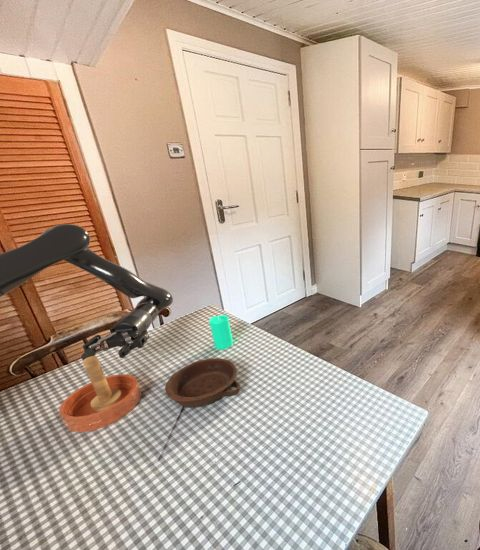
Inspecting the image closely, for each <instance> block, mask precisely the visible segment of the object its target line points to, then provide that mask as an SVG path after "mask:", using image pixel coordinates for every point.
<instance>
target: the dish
mask: <svg viewBox="0 0 480 550" xmlns="http://www.w3.org/2000/svg"><path fill="white" fill-rule="evenodd" d="M237 375H238V369H237V366H236V364H235V363H234V362H233V361H231V360H229V359H226V358H220V357H212V358H205V359H201V360H197V361H194V362H191V363H189V364H187V365H185V366H183V367H182V368H180V369H179V370H177V371H176V372H174V373H173V374H172V375H171V376H170V377H169V379H168V380H167V381H166V384H165V389H164V392H165V394H166V396H167V398H169V399H171V400H173V401H174V402H175V403H176V404H178V405H179V406H182V407H184V408H191V409H193V408H194V409H195V408H200V407H205V406H208V405H211V404H212V403H215V402H216V401H218V400H220V399H222V398H223V397H234V396H236V395H238V394H239V393H240V391H241V384H240V382H239V381H238V380H236V378H237ZM232 388H234V389H232Z"/></svg>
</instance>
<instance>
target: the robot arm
mask: <svg viewBox="0 0 480 550" xmlns="http://www.w3.org/2000/svg"><path fill="white" fill-rule="evenodd" d="M90 243H91V237H90V234H89V232H88V231H87V230H86V229H85V228H84V227H82V226H80V225H76V224H72V223H60V224H56V225H54V226H51V227H49V228H47V229H46V230H44V231H42V232H41V233H40V235H39V236H38V237H36V238H34V239H33V240H30V241H28V242H27V243H24V244H23V245H21V246H19V247H15V248H13V249H10V250H7V251H5V252H2V253H0V298H1V297H3V296H5V295H6V294H8V293H10V292H12V291H13V290H15V289H17V288H18V287H20V286H22V285H23V284H24V283H26V282H28V281H29V280H31V279H32V278H33V277H35V276H37V275H38V274H39V273H41V272H42V271H44V270H45V269H48V268H50V267H51V266H54V265H55V264H58V263H61V262H63V261H64V262H66V263H69V264H71V265H74V266H75V267H77V268H79V269H81V270H83V271H85V272H87V273H89V274H90V275H92V276H94V277H95V278H98V279H99V280H101V281H102V282H104V283H105V284H107V285H109V286H110V287H112V288H113V289H115V290H116V291H117V292H120V293H121V294H123V295H124V296H125V297H128V298H129V299H137V298H141V297H143V298H142V299H141V300H139V301H138V302H137V304H136V305H135V307H134V308H133V309H132V310H131V311H130V312H128V313H126V314H125V315H124V316H123V317H122V318H121V319H120V320H119V321H118V322H116V323H115V324H114V326H113V327H112V328H111V331H110V333H109V334H107V335H105V336H101V335H100V334H96V335H94V336H93V337H92V338H90V339H89V340H88V341H87V342H85V343H84V344H83V345H82V348H83V351H84V352H83V353H82V354H81V355H80V356H81V359H82V361H83V360H84V359H86V358H88V357H91V356H97V354H98V353H100V352H106V351H109V350H111V349H112V348H117V347H118V348H120V349H119V350H118V356H119V359H125V357H126V356H128V355H130V353H131V352H132V351H134V350H135V349H136V348H137V349H142V348H144V346H145V345H146V344H147V342H148V340H149V339H150V335H149V332H148V329H150V327H151V325H152V323H154V321H155V320H156V319H157V318H158V315H159V313H160V312H162V311H164V310H165V309H167V308H168V307H170V306H171V305H172V304H173V301H174V298H173V295H172V294H171V292H169V291H168V290H167V289H166V288H163V287H160V286H158V285H155V284H154V283H150V282H148V281H145V280H144V279H142V278H141V277H140V276H138V275H136V274H135V273H133V272H132V271H131V270H128V269H127V268H125V267H123V266H121V265H119V264H117V263H115V262H112V261H111V260H108V259H106V258H104V257H102V256H101V255H99V254H97V253H96V252H94V251H93V250H92V249H90V248H89V245H90ZM105 343H106V346H105ZM98 347H99V348H98Z"/></svg>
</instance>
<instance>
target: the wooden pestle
mask: <svg viewBox="0 0 480 550" xmlns="http://www.w3.org/2000/svg"><path fill="white" fill-rule="evenodd" d="M82 364H83V367H84V369H85V371H86V374H87V376H88V378H89V381H90V383H92V385H93V387H94V390H95V392H96V394H97V396H96V397H95V398H93V400H92V401H91V407H92V409H93V411H94V412H96V413H97V412H100V411H103V410H105V409H107V408H109V407H111V406H113V405H114V404H116V403H118V402H119V401H121V400H122V399H123V396H122V393H121V391H120V390H118V389H112V390H110V387H109V385H108V382H107V380H106V378H105V377H106V375H105V373H104V370H103V368H102V365H101V363H100V360H99V358H98V356H97V355H95V356H91V357H88V358H86V359H84V360H83V359H82Z"/></svg>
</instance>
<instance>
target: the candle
mask: <svg viewBox="0 0 480 550" xmlns="http://www.w3.org/2000/svg"><path fill="white" fill-rule="evenodd" d="M208 322H209V327H210V331H211V336H212V339H213V344H214V347H215V349H216V350H226V349H228V348H230V347H232V346H233V344H234V339H233V334H232V330H231V324H230V319H229V316H228V315H227V314H221V315H214V316H212V317H210V318H209V320H208Z"/></svg>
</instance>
